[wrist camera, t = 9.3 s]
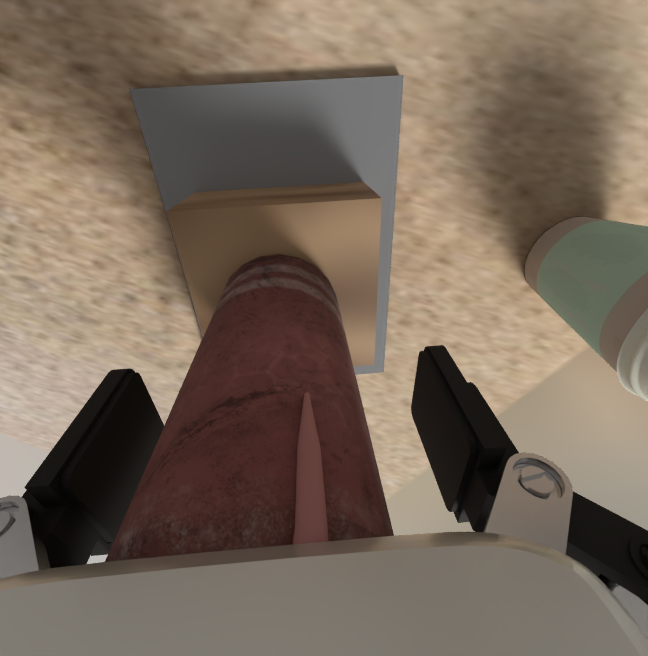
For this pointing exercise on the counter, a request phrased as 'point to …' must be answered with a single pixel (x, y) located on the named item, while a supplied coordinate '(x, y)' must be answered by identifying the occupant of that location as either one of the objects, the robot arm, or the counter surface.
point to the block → (286, 245)
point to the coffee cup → (599, 289)
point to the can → (262, 429)
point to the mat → (280, 146)
